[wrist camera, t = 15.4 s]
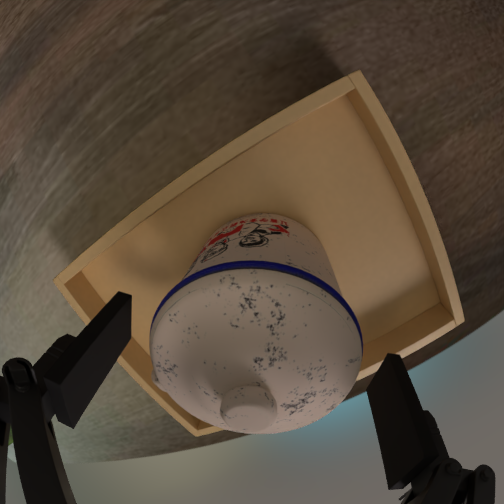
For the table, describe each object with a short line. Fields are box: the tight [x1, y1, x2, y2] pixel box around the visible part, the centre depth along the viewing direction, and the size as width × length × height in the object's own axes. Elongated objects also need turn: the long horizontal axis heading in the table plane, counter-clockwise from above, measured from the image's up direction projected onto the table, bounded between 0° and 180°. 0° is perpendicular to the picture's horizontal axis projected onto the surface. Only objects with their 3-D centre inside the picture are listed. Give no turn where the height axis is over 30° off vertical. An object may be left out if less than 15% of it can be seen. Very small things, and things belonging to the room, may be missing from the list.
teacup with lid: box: [149, 213, 363, 434], centre depth 15 cm, size 12×9×12 cm
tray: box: [53, 70, 465, 437], centre depth 20 cm, size 24×18×3 cm
